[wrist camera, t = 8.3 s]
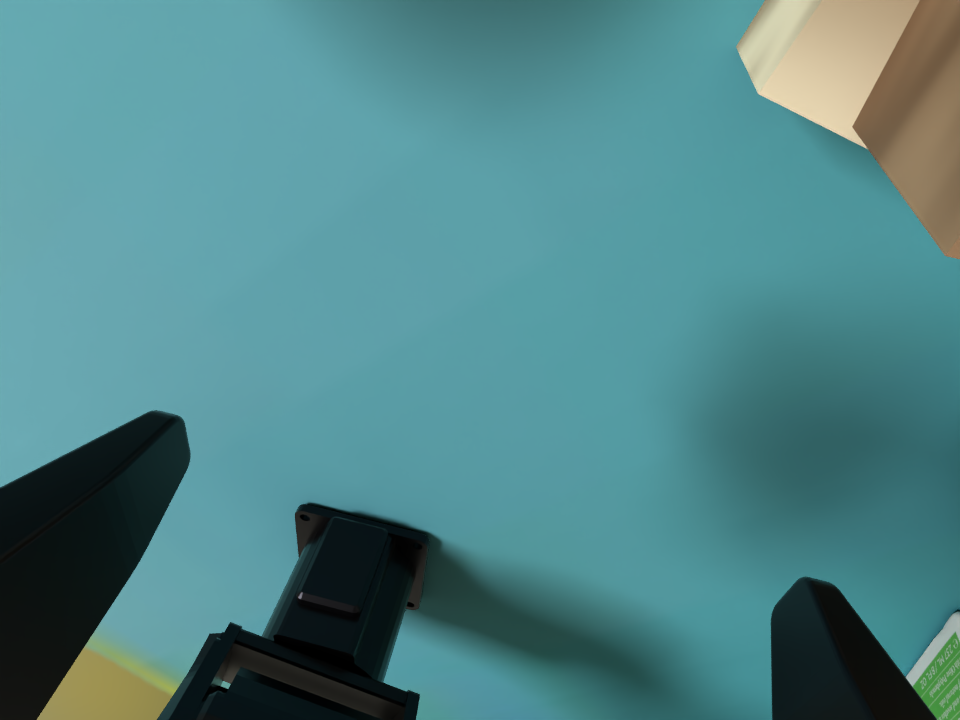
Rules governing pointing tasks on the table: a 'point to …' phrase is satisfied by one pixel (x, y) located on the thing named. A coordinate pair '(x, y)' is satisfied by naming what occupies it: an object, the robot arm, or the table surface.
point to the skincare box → (940, 672)
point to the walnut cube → (921, 119)
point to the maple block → (823, 55)
